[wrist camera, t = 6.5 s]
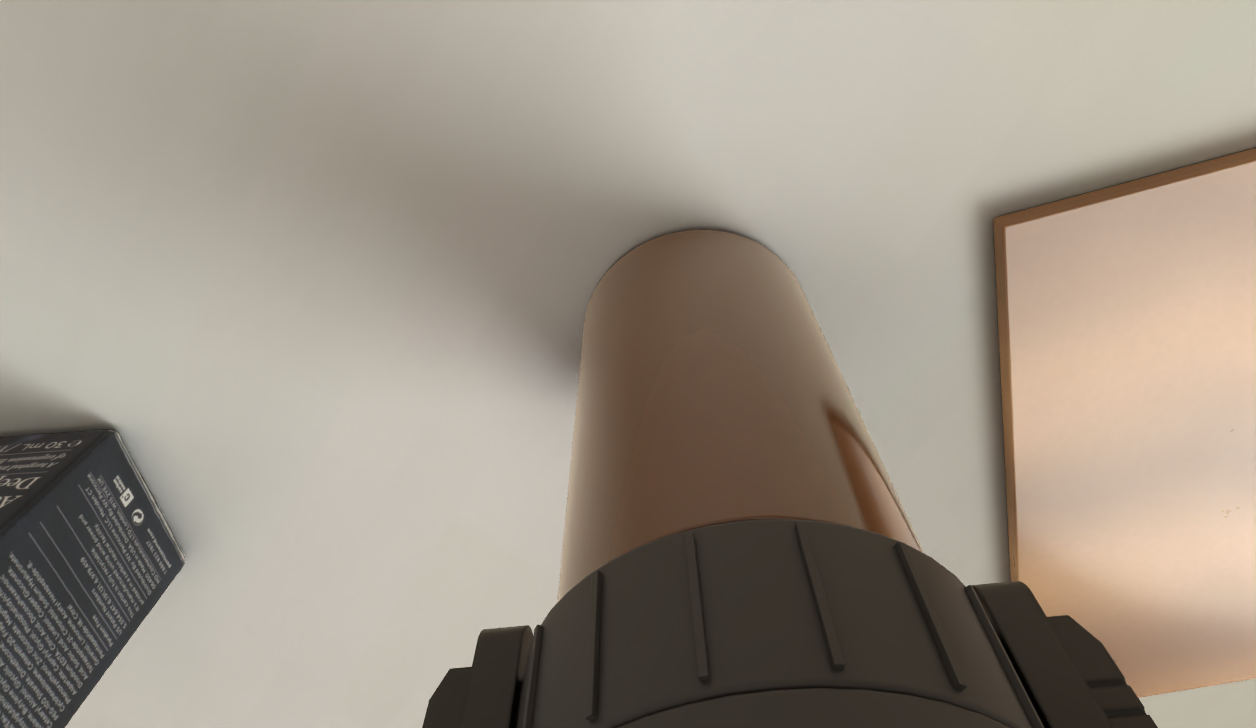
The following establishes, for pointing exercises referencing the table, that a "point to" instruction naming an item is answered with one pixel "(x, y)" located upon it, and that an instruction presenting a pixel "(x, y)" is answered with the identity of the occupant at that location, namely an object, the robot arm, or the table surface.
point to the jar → (711, 406)
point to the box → (72, 568)
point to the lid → (771, 638)
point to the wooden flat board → (1137, 417)
